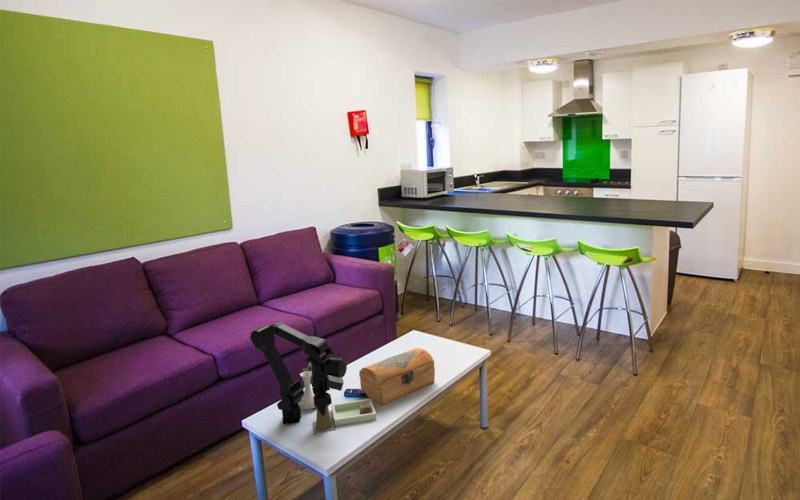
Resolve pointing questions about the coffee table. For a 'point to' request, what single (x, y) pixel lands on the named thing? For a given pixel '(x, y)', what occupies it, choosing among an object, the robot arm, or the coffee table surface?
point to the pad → (324, 430)
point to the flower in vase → (307, 390)
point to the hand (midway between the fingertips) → (322, 411)
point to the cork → (323, 420)
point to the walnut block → (365, 408)
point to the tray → (351, 412)
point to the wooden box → (397, 375)
